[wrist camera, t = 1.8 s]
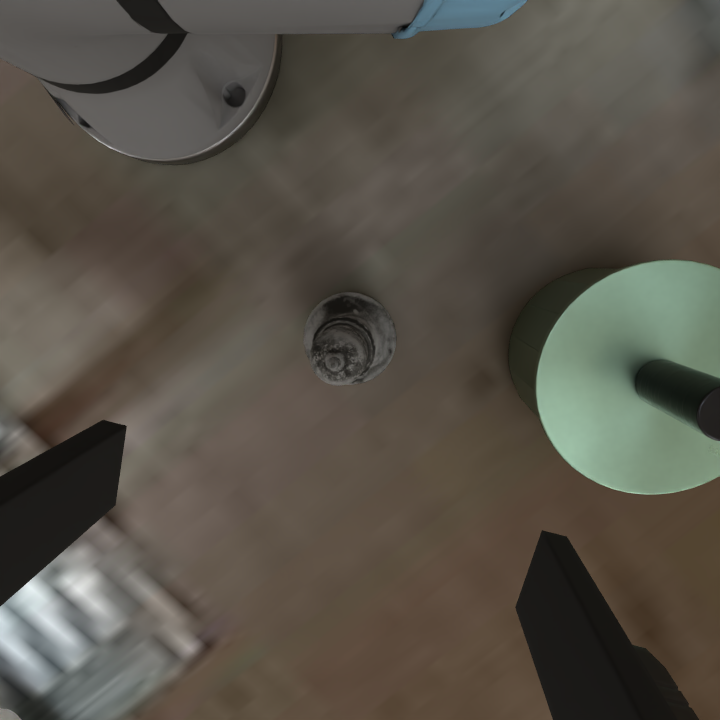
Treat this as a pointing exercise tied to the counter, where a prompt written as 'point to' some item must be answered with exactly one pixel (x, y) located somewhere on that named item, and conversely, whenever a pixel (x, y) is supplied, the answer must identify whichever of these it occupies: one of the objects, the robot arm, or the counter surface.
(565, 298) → the pot
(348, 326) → the dark grey tall piece
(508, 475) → the counter surface
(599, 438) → the pot lid
